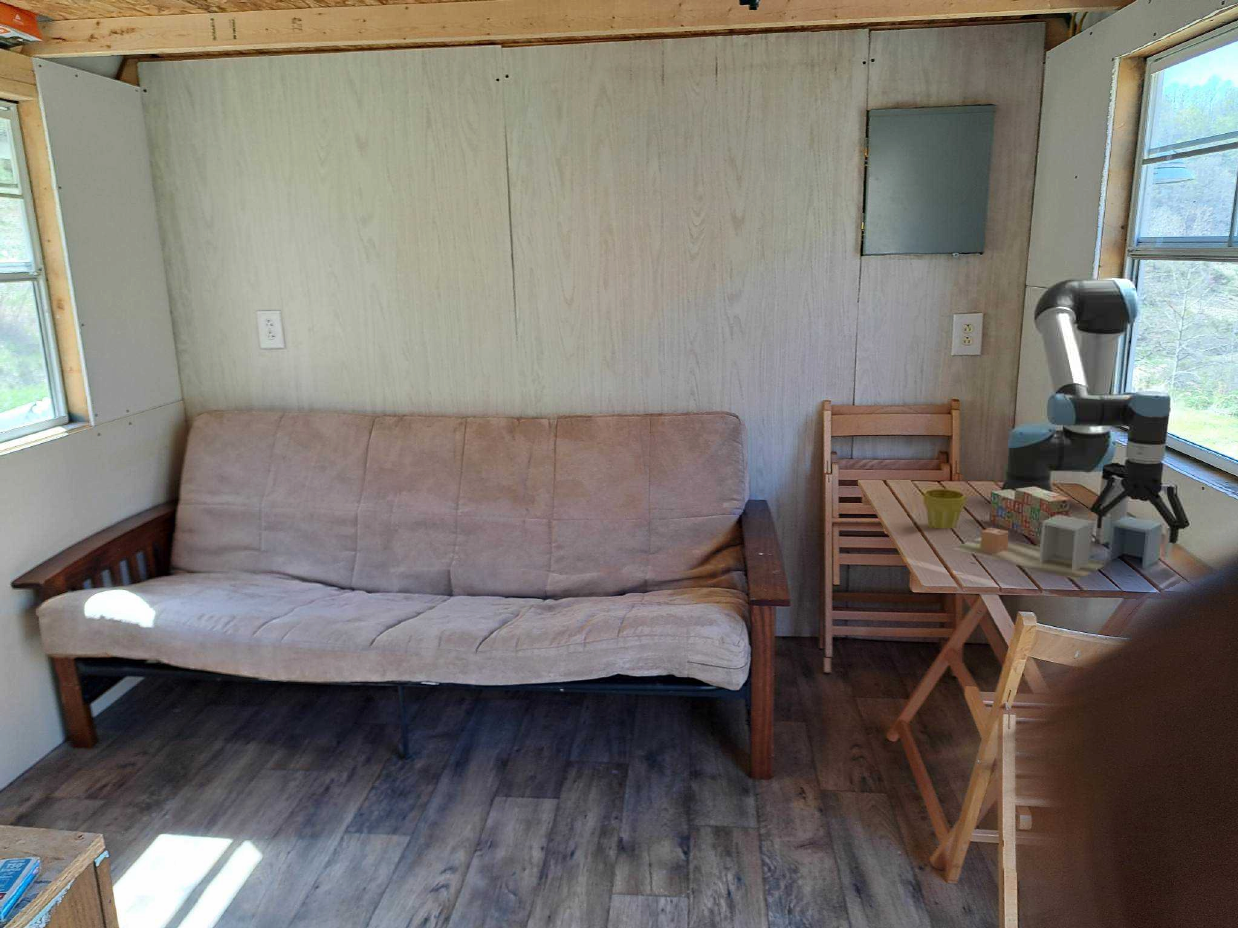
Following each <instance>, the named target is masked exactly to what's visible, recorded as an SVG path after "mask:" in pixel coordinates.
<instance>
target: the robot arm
mask: <svg viewBox="0 0 1238 928" xmlns="http://www.w3.org/2000/svg"><path fill="white" fill-rule="evenodd" d="M1138 313H1139V299H1138V293H1137V290H1136V287H1135V285H1134V283H1133V282H1132V281H1131V280H1129V279H1127V278H1126V279H1125V278H1114V277H1110V278H1108V277H1107V278H1085V279H1084V278H1083V279H1082V278H1081V279H1080V278H1079V279H1065V280H1062V281H1060V282H1059V281H1058V282H1057V283H1055V284H1053V285H1051V286H1050V287H1049V288H1048V289H1047V290H1045V291H1044V293H1043V294H1042V295H1041V296H1040V298H1039V299H1038V301H1037V303H1036V306H1035V309H1034V313H1033V319H1034V325H1035V328H1036V331H1037V332H1039V333H1040V334H1041V337H1042V341H1043V342H1042V343H1043V347H1044V352H1045V357H1046V361H1047V365H1048V370H1049V375H1050V378H1051V380H1050V381H1051V385H1052V388H1053V393H1054V394H1051V395H1049V397H1048V399H1047V404H1046V412H1047V413H1046V415H1047V420H1048V421H1049V423H1050V424H1046V423H1043V424H1041V423H1034V424H1025V425H1020V426H1017V427H1015V428H1012V429H1011V430H1010V432H1009V435H1008V440H1007V445H1006V446H1007V455H1006V468H1005V469H1006V470H1005V478H1004V481H1003V483H1002V485H1001V487H1000V490H999V491H1001V490H1008V489H1010V490H1013V491H1015V489H1019V488H1027V487H1037V488H1040V489H1043V490H1046V491H1050V492H1053V493H1054V491H1053V487H1052V484H1051V476H1052V475H1051V473H1052V472H1074V473H1100V472H1102V471H1103V466H1104V465H1106V464H1111V463H1113V462H1112V461H1113V459H1114V458H1115V457H1114V456H1115V453H1116V436H1115V435H1116V434H1115V433H1114V432H1113V431H1112V430H1111V427H1128V430H1127V431H1128V432H1127V441H1126V450H1125V451H1126V452H1125V457H1126V458H1127V459H1125V460H1124V465H1125V467H1124V477H1123V478H1119V477H1117V476H1116V475H1113V476H1111V477H1109V478H1108V481H1107V485H1106V487H1105V488H1104V490H1103V491H1102V492H1101V494H1100V493H1099V495H1098V497H1097V498H1096V500H1095V501H1094V502H1093V504H1092V505H1091V506H1090V508H1089V510H1090V512H1092V513H1095V514H1096V515H1097V518H1098V524H1097V523H1096V528H1097V527H1098V528H1100V529H1101V534H1100V543H1101V544H1100V543H1099V544H1100V545H1104V543H1105V542H1107V541H1108V534H1109V524H1110V515H1106V514H1107V513H1108V512H1109V511H1110V510H1112V509H1113V508H1114V507H1115V506H1117V505H1118V504H1119V503H1120V502H1122V501H1123V500H1124V499H1125V498H1127V497H1128V496H1129V498H1130V499H1131V500H1139V501H1142V502H1148V501H1149V503H1150V504H1151V505H1152V506H1153V507H1154V508H1155V509H1156V510H1157V512H1158V514H1159V515H1160V516H1161V517H1162V520H1164V522H1165V523H1166V524H1167V526H1168V528H1166V529H1165V535H1164V543H1163V551H1162V552H1163V553H1162V557H1163V558H1168V557H1170V556H1171V555H1172V549H1173V544H1175V543H1177V542H1178V539H1179V533H1180V532H1179V531H1180V530H1181V529H1182V530H1184V529H1186V528H1188V527H1189V526H1190V522H1189V519H1188V517H1187V514H1186V512H1185V510H1184V508H1183V504H1182V503H1181V500H1180V498H1179V496H1178V485H1177V484H1175V483H1173V484H1171V485H1169V484H1168V485H1167V484H1163V483H1162V479H1163V471H1164V462H1162V461H1164V460H1165V454H1166V453H1165V452H1166V443H1167V436H1168V435H1167V434H1168V429H1169V428H1168V427H1169V420H1170V414H1171V396H1170V395H1169V393H1166V392H1161V391H1155V390H1141V391H1136V392H1130V391H1126V392H1122V393H1118V394H1117V393H1116V394H1115V393H1114V394H1113V393H1111V394H1110V390H1111V385H1112V378H1113V371H1114V365H1115V361H1116V359H1115V358H1116V353H1117V347H1118V346H1117V345H1118V341H1119V337H1120V336H1122V335H1123V334H1125V333H1126V330H1127V325H1131V324H1133V323H1135V322H1136V320H1137V317H1138ZM1074 325H1076V331H1077V333H1079V334H1080V335H1081V338H1080V339H1081V340H1080V347H1079V344H1078V340H1077V335H1076V331H1075V327H1074ZM1054 425H1055V426H1062V429H1060V430H1059V429H1058V430H1057V429H1056V427H1055V426H1054ZM1119 483H1121V485H1122V487H1123V488H1124V491H1123V492H1122V493H1121V494H1119V495H1118V496H1117V497H1116V498H1115V499H1114V500H1112V501H1111V502H1110V503H1109V504H1107V505H1106V506H1105V507H1104V508H1100V507H1101V506H1102V504H1103V503H1104V502H1105V500H1106V499H1107V498H1108V496H1109V495H1110V493H1111V492H1112V491H1113V489H1114V488H1115V486H1117V485H1119ZM1162 491H1163V492H1164V494H1165V495H1166V496H1167V500H1168V502H1169V505H1170V507H1171V510H1172V511H1171V510H1170V509H1169V507H1168V506H1167V505H1166V503H1165V502H1164V500H1163V498H1162V496H1161V495H1160V494H1159V493H1161V492H1162ZM1172 512H1173V513H1172Z"/></svg>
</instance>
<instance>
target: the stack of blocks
mask: <svg viewBox="0 0 1238 928" xmlns="http://www.w3.org/2000/svg"><path fill="white" fill-rule="evenodd" d="M1000 490H1001V489H1000ZM1000 490H995V491H991V492H990V498H989V499H990V504H989V505H990V506H989V521H988V522H989V523H993V524H996V525H1000V526H1002V527H1005V528H1007V529H1009V530H1012V531H1015V532H1017V533H1020V534H1021V535H1024V536H1026V537H1029V538H1031V539H1034V540H1036V541H1038V542H1039V543H1041V532H1042V522H1043V521H1045V520H1047V519H1050V518H1052V517H1054V516H1056V515H1063V516H1068V517H1069V509H1070V501H1071V499H1070V498H1068V497H1066V496H1063V495H1061V494H1060V493H1059V494H1058V493H1056V492H1054V491H1053V492H1050V491H1046V490H1043V489H1040V488H1037V487H1027V488H1019V489H1015V491H1013V490H1010V489H1008V490H1001V491H1000Z"/></svg>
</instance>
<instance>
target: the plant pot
mask: <svg viewBox="0 0 1238 928" xmlns="http://www.w3.org/2000/svg"><path fill="white" fill-rule="evenodd" d="M965 503H966V494H965V493H964V492H961V491H960V490H955V489H950V488H930V489H927V490H925V491H924V493H923V505H924V506H925V510H926V514H927V524H928V527H929V529H931V528H935V529H941V530H942V529H945V530H947V529H948V530H950V529H955V528H956V527H957V525H958V521H959V519H960V515H961V511H962V510H963V509H964V508H965V505H966V504H965Z"/></svg>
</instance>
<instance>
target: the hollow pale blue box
mask: <svg viewBox="0 0 1238 928" xmlns="http://www.w3.org/2000/svg"><path fill="white" fill-rule="evenodd" d="M1163 526H1164V525H1163V522H1159V521H1153V520H1147V519H1143V518H1137V517H1132V516H1128V515H1127V516H1125V517H1123V518H1121V519H1119V520H1117V521H1115V522H1113V523H1111V532H1110V542H1109V545H1108V552H1107V561H1110V562H1111V561H1113V560H1115V559H1117V558H1118V557H1120V556H1121V555H1123V554H1124V555H1128V556H1134V557H1136V558H1137V557H1138V558H1142V564H1141V568H1142V569H1147V568H1149V567H1151V566H1152V565H1154V564H1155V563H1156V562H1158V561H1159V558H1160V550H1161V543H1162V542H1161V541H1162V533H1163ZM1151 564H1152V565H1151Z"/></svg>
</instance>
